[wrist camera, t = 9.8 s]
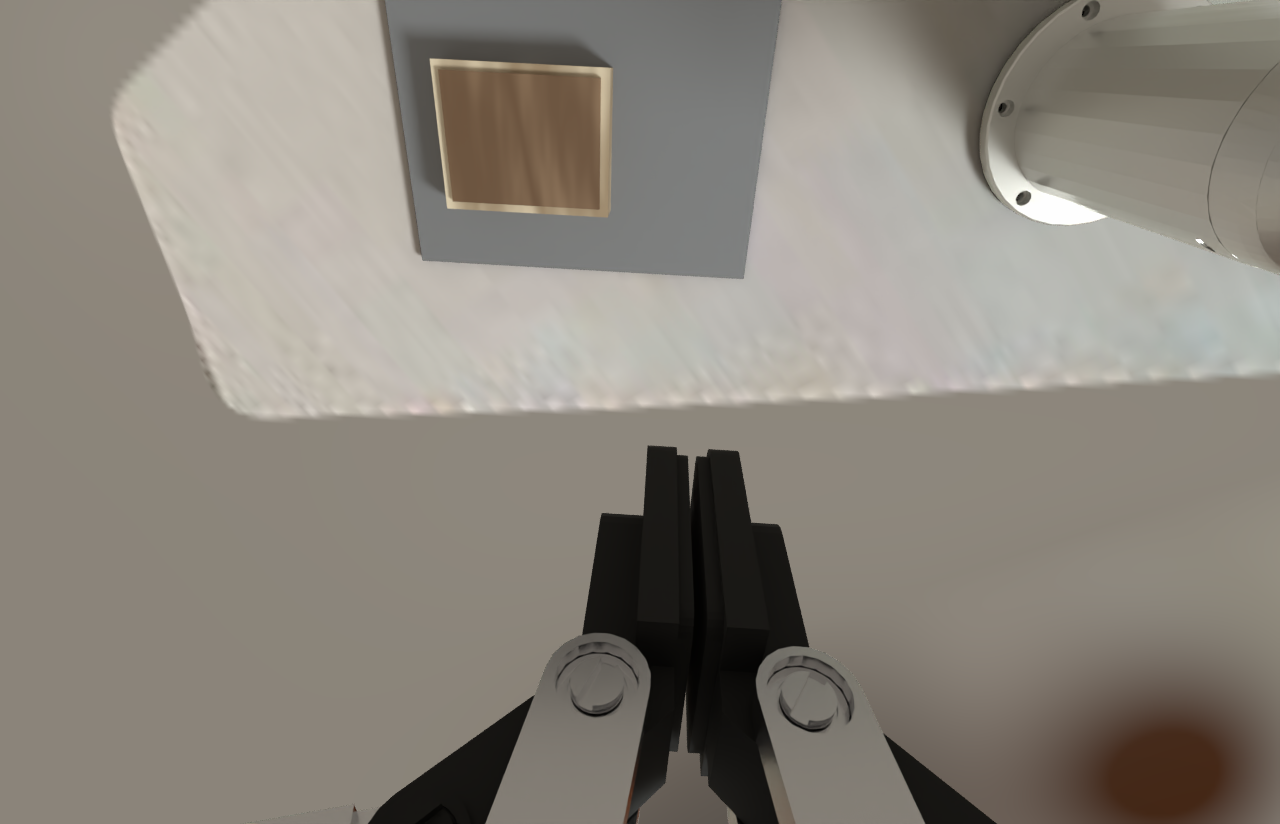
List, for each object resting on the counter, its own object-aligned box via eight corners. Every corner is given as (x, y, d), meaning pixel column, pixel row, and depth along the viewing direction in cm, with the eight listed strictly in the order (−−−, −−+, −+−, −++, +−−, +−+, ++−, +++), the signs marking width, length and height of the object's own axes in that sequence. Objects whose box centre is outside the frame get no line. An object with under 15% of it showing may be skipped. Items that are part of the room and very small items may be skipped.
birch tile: (609, 67, 32) (427, 58, 32) (607, 218, 36) (445, 209, 36) (613, 67, 34) (441, 58, 34) (610, 210, 38) (457, 202, 38)
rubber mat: (781, -9, 32) (782, -9, 32) (742, 277, 40) (743, 278, 40) (383, -28, 33) (380, -29, 32) (424, 258, 41) (422, 260, 40)
